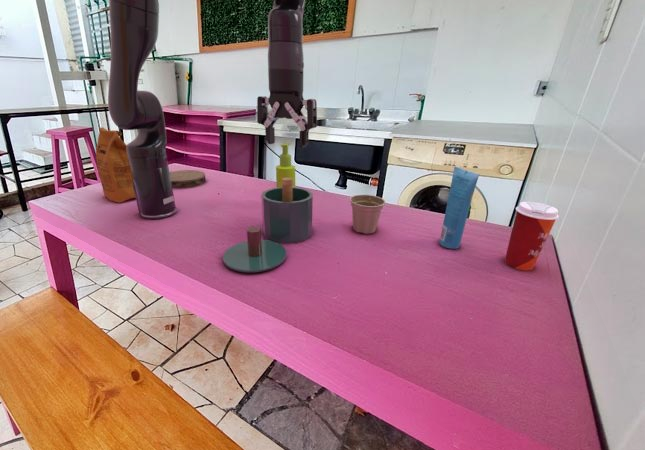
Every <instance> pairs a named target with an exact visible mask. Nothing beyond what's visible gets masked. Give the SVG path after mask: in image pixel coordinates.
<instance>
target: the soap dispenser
mask: <svg viewBox="0 0 645 450" xmlns="http://www.w3.org/2000/svg"><path fill="white" fill-rule="evenodd" d="M291 145H292V143H291V142H282V143H281V144H280V147H281V148H282V153H281V154H279V164H278V165H276V166H275V180H276V181H275V182H276V188H277V187H282V178H292V183H293V187H296V166H295V165H293V164H292V155H291V154H290V153H289V146H291Z"/></svg>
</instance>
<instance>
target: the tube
mask: <svg viewBox="0 0 645 450" xmlns="http://www.w3.org/2000/svg"><path fill="white" fill-rule="evenodd" d="M479 178H480V174H479V173H476V172H473V171H469V170H466V169H463V168H461V167H457V166H454V167H453V171H452V178H451V183H450V186H449V187H450V188H449V192H448V198H447V203H446V208H445V213H444V217H443V222H442V226H441V232H440V236H439V241H438V243H439V245H440V246H441V247H443V248H445V249H451V250H453V249H454V250H457V249H459V248H460V247H461V243H462V240H463V239H462V238H463V235H464V231H465V227H466V223H467V219H468V216H469V211H470V207H471V205H472V200H473V197H474V194H475V190H476V186H477V183H478V180H479Z"/></svg>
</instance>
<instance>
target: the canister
mask: <svg viewBox="0 0 645 450" xmlns="http://www.w3.org/2000/svg"><path fill="white" fill-rule="evenodd" d="M260 196H261V197H260V199H261V217H262V218H261V219H262V232H263V236H264V237H265V239H266V240H269V241H274V242H276V243H279V244H294V243H295V244H296V243H299V242H300V243H301V242H303V241H305V240H308V239H309V238H311V236H312V234H313V219H314V218H313V217H314V216H313V215H314V213H313V212H314V211H313V210H314V208H313V207H314V193H313V192H312V191H311V190H309V189H306V188H303V187H297V186H295V187H293V202H282V187H277V186H276V187H273V188H269V189H267V190H264V191H263V192H261V195H260Z"/></svg>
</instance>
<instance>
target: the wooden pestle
mask: <svg viewBox="0 0 645 450" xmlns="http://www.w3.org/2000/svg"><path fill="white" fill-rule="evenodd" d="M282 202H293V183H292V178H282Z"/></svg>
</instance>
